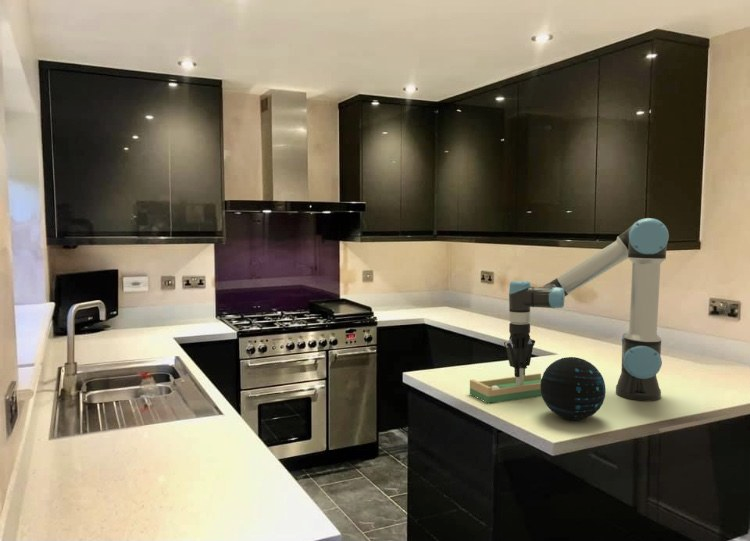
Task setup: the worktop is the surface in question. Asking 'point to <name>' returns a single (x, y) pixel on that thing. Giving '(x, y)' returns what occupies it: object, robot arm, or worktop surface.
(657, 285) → the robot arm
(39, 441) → the worktop surface
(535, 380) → the tray
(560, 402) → the decorative sphere
